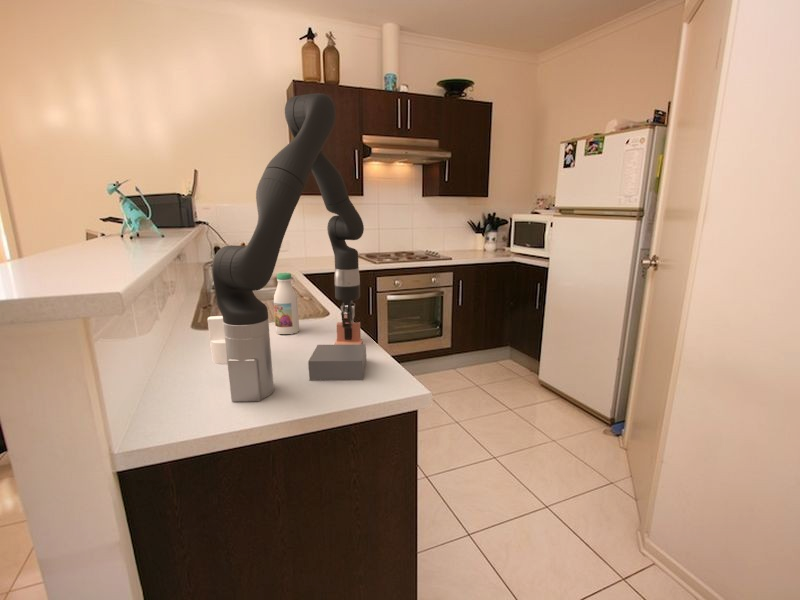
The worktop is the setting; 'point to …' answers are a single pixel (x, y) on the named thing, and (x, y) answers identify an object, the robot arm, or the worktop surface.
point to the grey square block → (338, 362)
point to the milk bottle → (285, 306)
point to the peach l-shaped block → (355, 334)
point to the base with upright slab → (217, 339)
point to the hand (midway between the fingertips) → (348, 337)
